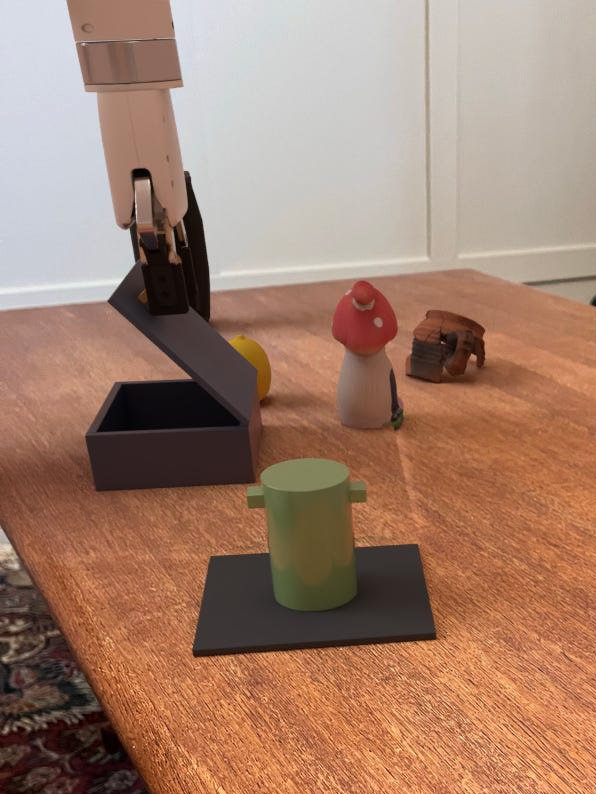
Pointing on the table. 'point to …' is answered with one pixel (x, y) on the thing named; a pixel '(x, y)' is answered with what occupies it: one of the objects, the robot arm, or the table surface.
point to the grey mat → (291, 629)
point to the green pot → (310, 531)
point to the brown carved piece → (444, 345)
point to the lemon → (255, 361)
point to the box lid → (191, 346)
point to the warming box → (170, 438)
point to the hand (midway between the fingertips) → (174, 302)
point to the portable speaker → (198, 252)
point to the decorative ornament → (366, 359)
